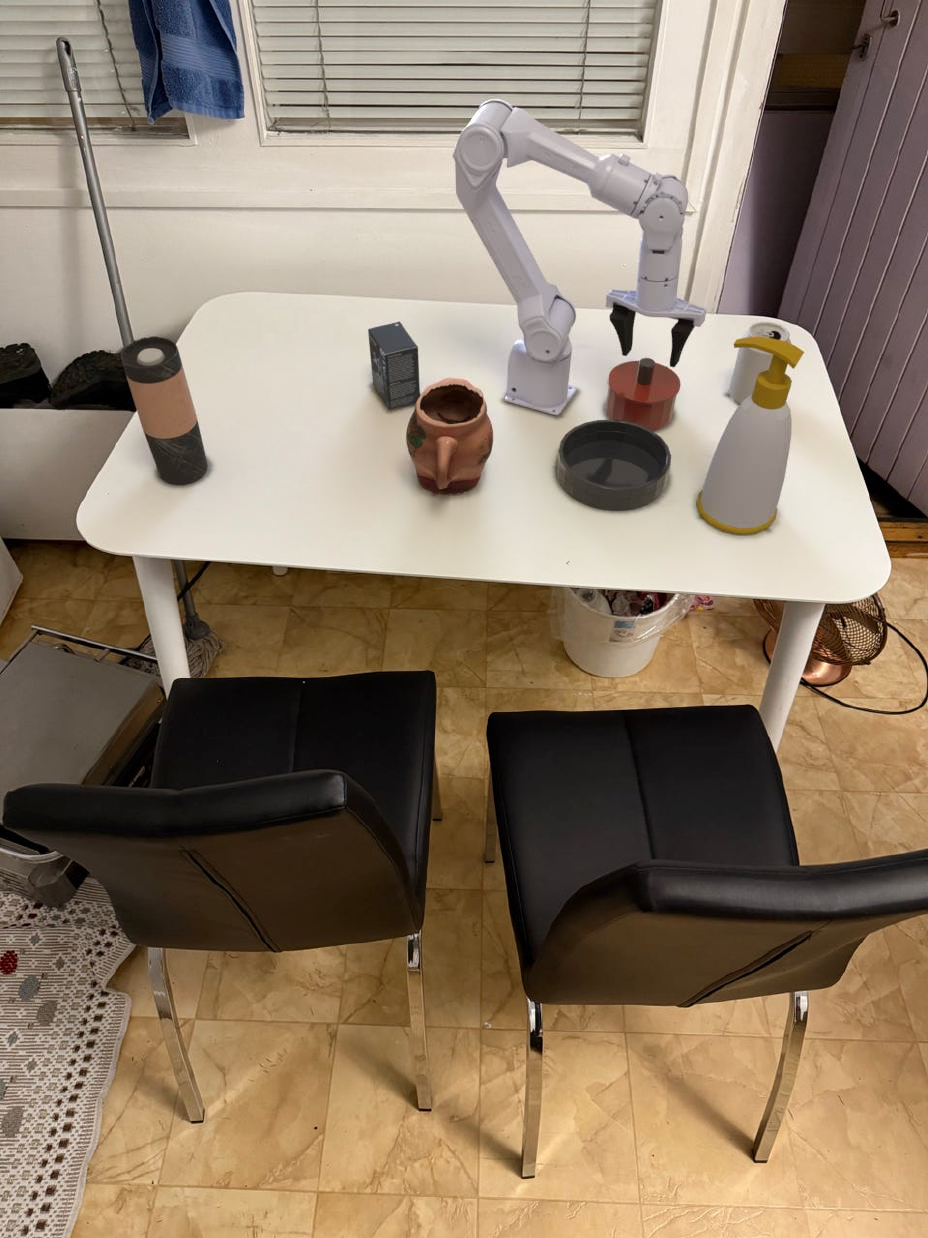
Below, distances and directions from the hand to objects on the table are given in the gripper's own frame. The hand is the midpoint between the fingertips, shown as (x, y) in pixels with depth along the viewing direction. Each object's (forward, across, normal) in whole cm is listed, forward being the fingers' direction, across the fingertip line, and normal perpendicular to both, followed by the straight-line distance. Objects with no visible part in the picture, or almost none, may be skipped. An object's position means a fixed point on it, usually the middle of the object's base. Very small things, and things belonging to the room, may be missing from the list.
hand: (650, 357), depth 139 cm
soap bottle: (+11, -20, +15) cm, 27 cm away
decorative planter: (+8, +18, +30) cm, 36 cm away
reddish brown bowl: (+10, +1, 0) cm, 10 cm away
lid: (+5, +1, 0) cm, 5 cm away
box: (+7, +37, +15) cm, 41 cm away
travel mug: (+6, +54, +48) cm, 72 cm away
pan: (+10, -2, +16) cm, 19 cm away
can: (+11, -13, -13) cm, 22 cm away
